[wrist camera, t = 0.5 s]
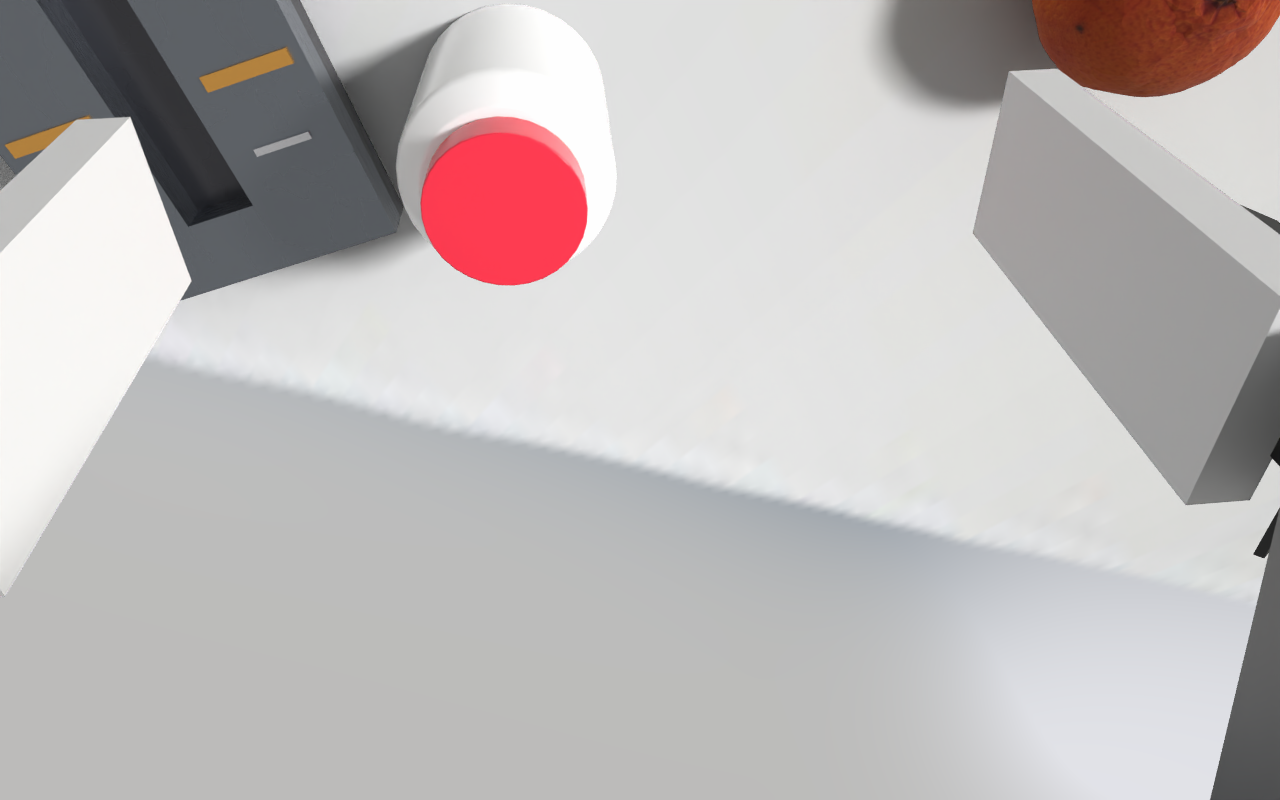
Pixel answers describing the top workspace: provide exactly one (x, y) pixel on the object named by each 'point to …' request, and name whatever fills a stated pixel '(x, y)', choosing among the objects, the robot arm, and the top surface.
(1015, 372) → the top surface
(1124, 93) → the fruit
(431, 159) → the pill bottle
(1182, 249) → the robot arm
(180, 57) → the console
